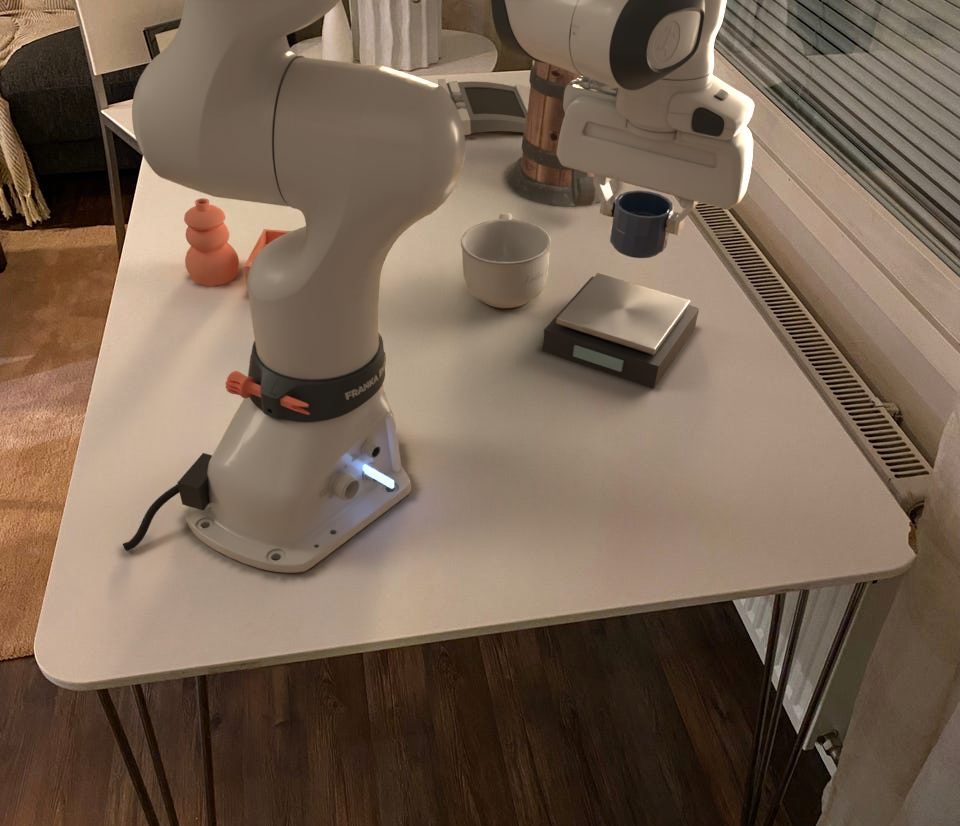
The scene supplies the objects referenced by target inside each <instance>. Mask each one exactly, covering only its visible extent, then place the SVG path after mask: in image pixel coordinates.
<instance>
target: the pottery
mask: <svg viewBox="0 0 960 826" xmlns="http://www.w3.org/2000/svg"><path fill="white" fill-rule="evenodd" d="M194 204H195V205H194V206H192V207H190V208H189V209H188V210H187V211H186V212H185V213H184V217H183V221H184V224H186V225H187V227H186V228H185V238H186V241H187V243H188V244H189V245H190V247H189V248H188V249H187V251H186V254H185V258H184V265H185V269H186V271H187V273H188V276H189V278H190V279H191V281H192V282H193V283H195V284H197V285H200V286H207V287H215V286H222V285H226V284H228V283H230V282H232V281H234V280H235V279H236V278H237V277H238V274H239V265H240V260H239V256H238V253H237V251H236V250H235V248H234V247H233V246H232V244H230V243H229V242H228V241H229V239H230V230H229V228H228V226H227V225H226V223H225V220H226V214H225V212H224V211H223V209H221V208H220V207H218V206H216V205H213V204H210V200H209V199H208V198H205V197H204V198H197V199H195V201H194ZM291 231H292V230H280V229H266V228H263V230H262V232H261V234H260V236H259V238H258V239H257V241H256V243H255V245H254V247H253V249H252V251H251V252H250V254H249V256H248V258H247V260H246V262H245V263H244V266H243V268H244V269H243V270H244V276H245V282H246V284H247V278H248V274H249V270H250V267H251V264H252V262H253V260H254V258H255V257H256V255H257V254H258V253H259V252H260V251H261V249H262V248H264V247H265V246H266V245H267V244H269V243H270V242H272V241H273V240H275V239H276V238H278V237H280V236H282V235H284V234H286V233H288V232H291ZM246 290H247V291H248V288H247V287H246ZM247 297H248V298H249V295H248V294H247Z"/></svg>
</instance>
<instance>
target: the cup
mask: <svg viewBox="0 0 960 826" xmlns="http://www.w3.org/2000/svg"><path fill="white" fill-rule="evenodd" d="M672 212H674V204H673V202H672V201H671V200H670V199H669V198H668V197H666V196H665V195H662V194H660V193H657V192H653V191H649V190H629V191H625V192H622V193H620V194H619V195H617V198H616V199H615V205H614V212H613V217H612V219H611V227H610V233H609V242H610V244H611V245H612V246H613V248H614V249H615V251H617V252H618V253H619V254H621V255H623V256H626V257H630V258H635V259H648V258H649V259H650V258H653V257H656V256H658V255H660V253H662V252H663V251H664V250H665V249H666V248H667V245H668V240H669V234H670V233H667V232H665V228H666V226H667V225H666V222H667V218H668V217H669V216H670V215H671V214H672Z"/></svg>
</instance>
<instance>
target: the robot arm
mask: <svg viewBox="0 0 960 826" xmlns="http://www.w3.org/2000/svg"><path fill="white" fill-rule="evenodd" d="M340 1H341V0H183V9H182V15H181V18H180V19H181V20H180V23H179V26H178V28H177V31H176V33H175V35H174V36H173V38H172V40H171V41H170V42H169V44H168V45H167V46H166V47H165V48H164V49H163V50H162V51H161V52H160V53H159V54H157V55H155V57H154V58H153V59H151V61H150V62H149V63H148V64H147V65H146V67H145V69H144V70H143V72H141V73H142V74H140V77H139V78H138V81H137V84H136V86H135V89H134V93H133V98H132V106H131V120H132V129H133V132H134V138H135V140H136V143H137V146H138V148H139V151H140V153H141V155H142V156H143V159H144V160H145V161H146V163H147V164H148V166H149V167H150V168H151V170H152V171H153V172H154V173H155V175H157V176H158V177H160V178H161V179H164V180H166V181H169V182H171V183H174V184H177V185H180V186H181V187H184V188H186V189H191V190H193V191H196V192H199V193H202V194H205V195H208V196H211V197H215V198H220V199H226V200H227V199H228V200H235V201H242V202H251V203H258V204H266V205H273V206H280V207H281V206H282V207H289V208H291V209H295V210H298V211H300V212H301V214H302V215H303V218H304V220H305V226H302V227H300V228H297V229H294V230H290V231H291V232H288V233H286V234H284V235H282V236H280V237H278V238H276V239H275V240H273V241H272V242H270V243H269V244H267V245H266V246H265V247H264V248H262V249H261V251H260V252H259V253H258V254H257V255H256V257H255V258H254V260H253V262H252V264H251V267H250V270H249V274H248V278H247V283H246V289H247V288H248V290H247V296H248V295H249V297H248V301H249V309H250V315H251V323H252V329H253V336H254V341H253V344H252V347H251V352H250V353H251V354H250V357H249V366H248V372H247V373H248V374H247V376H246V375H245V374H243V373H242V372H240V371H237V370H234V371H231V373H230V374H229V375H228V376H227V378H226V381H225V389H226V392H227V393H229V394H232V395H236V396H240V397H241V398H243V399H242V401H241V402H240V405H239V406H238V408H237V409H236V411H235V413H234V415H233V417H232V419H231V421H230V423H229V425H228V426H227V428H226V429H225V432H224V434H223V435H222V437H221V439H220V441H219V443H218V445H217V446H216V448H215V450H214V452H213V453H212V454H209V453H205V452H202V453H201V455H199V457H198V458H197V459H196V460H195V461H194V463H193V464H192V465H191V466H190V468H188V469H187V470H186V472H185V473H184V474H183V475H182V477H180V479H179V480H178V481H177V484H175V485H174V486H172V487H170V488H169V489H168V490H166V491H165V492H164V493H162V494H161V495H160V496H159V497H158V498H157V499H156V500H154V502H152V504H151V505H150V506H149V508H148V509H147V511H146V512H145V514H144V516H143V518H142V520H141V522H140V525H139V527H138V529H137V531H136V532H135V534H134V535H133V537H132V538H131V539H129V540H128V541H125V542H124V543H123V542H122V546H123V549H124V551H126V552H127V551H131V550H133V549H135V548H136V547H137V546H138V545H139V544H140V543H141V542H142V540H143V539H144V538H145V536H146V534H147V532H148V530H149V528H150V526H151V523H152V521H153V520H154V517H155V515H156V514H157V512H158V511H159V510H160V509H161V508H162V507H163V506H164V505H165V504H166V503H167V502H169V500H171V499H172V498H174V497H176V496H177V495H178V494H179V497H180V500H181V505H183V506H186V507H187V508H186V510H185V521H186V523H187V525H188V527H189V529H190V531H191V532H192V533H193V534H194V535H195V537H197V538H198V539H199V540H200V541H201V542H202V543H204V544H205V545H206V546H208V547H210V548H211V549H213V550H214V551H216V552H218V553H220V554H222V555H224V556H226V557H227V558H230V559H232V560H235V561H237V562H240V563H242V564H244V565H247V566H250V567H254V568H256V569H261V570H264V571H270V572H275V573H288V574H289V573H290V574H291V573H293V574H294V573H304V572H307V571H308V570H309V569H311V568H313V567H314V566H316V565H317V564H318V563H320V562H321V561H322V560H324V559H325V558H326V557H327V556H329V555H330V554H332V553H333V552H334V551H335V550H337V549H338V548H340V547H341V546H342V545H343V544H345V543H346V542H347V541H348V540H350V539H351V538H353V537H354V536H355V535H356V534H358V533H360V532H361V531H363V530H364V529H365V528H366V527H367V526H369V525H370V524H371V523H372V522H374V521H375V520H377V519H378V518H379V517H380V516H382V515H383V514H385V513H386V512H387V511H389V510H390V509H391V508H392V507H393V506H395V505H397V504H398V503H399V502H400V501H402V500H403V499H404V498H406V497H407V496H409V494H410V493H411V492H412V484H411V479H410V477H409V475H408V474H407V472H406V471H405V469H404V468H403V466H402V460H401V453H400V446H399V438H398V431H397V426H396V419H395V415H394V412H393V410H392V408H391V405H390V402H389V399H388V397H387V394H386V391H385V388H384V382H385V379H386V363H387V358H386V357H387V356H386V352H385V348H384V347H385V346H384V340H383V337H382V335H381V333H380V331H379V330H380V329H379V303H380V284H381V283H380V281H381V275H382V270H383V267H384V264H385V261H386V258H387V256H388V254H389V252H390V251H391V249H392V247H393V246H394V244H395V243H396V242H397V241H398V239H399V238H400V237H401V236H402V235H403V234H404V232H406V231H407V230H408V229H409V228H410V227H411V226H413V225H414V224H416V223H417V222H418V221H421V220H422V219H424V218H426V217H427V216H429V215H431V214H433V213H434V212H435V211H437V210H438V209H439V208H440V207H441V206H442V205H443V204H444V203H445V202H446V200H447V199H448V198H449V196H451V194H452V192H453V190H454V189H455V187H456V185H457V183H458V181H459V179H460V176H461V174H462V170H463V167H464V163H465V156H466V138H465V136H466V135H464V129H463V125H462V121H461V118H460V115H459V112H458V110H457V108H456V106H455V104H454V102H453V100H452V99H451V97H450V96H449V94H448V93H447V91H446V90H445V89H444V88H443V87H442V86H441V85H438V83H436V82H433V81H430V80H427V79H424V78H421V77H419V76H416V75H413V74H409V73H407V72H404V71H401V70H397V69H395V68H391V67H389V66H383V65H376V64H367V63H356V62H348V61H339V60H331V59H321V58H313V57H312V58H311V57H305V56H304V55H299V54H296V53H294V52H293V50H292V49H291V47H290V44H289V42H288V38H287V36H288V35H290V34H292V33H295V32H297V31H301V30H302V29H305V28H306V27H308V26H310V25H312V24H314V23H315V22H316V21H318V20H320V19H321V18H323V17H324V16H325V15H327V14H328V13H329V12H331V11H332V9H334V8H335V7H336V6H337V5H338V3H339V2H340ZM727 2H728V0H490V10H491V17H492V22H493V26H494V30H495V32H496V35H497V38H498V39H499V42H500V43H501V45H502V46H503V47H504V48H505V50H506V51H507V52H509V53H510V54H511V55H513V56H514V57H515V56H516V57H518V58H522V59H526V60H530V61H533V62H534V61H537V62H542V63H548V64H551V65H553V66H556V67H559V68H561V69H564V70H567V71H569V72H572V73H575V74H577V75H580V77H579V79H574V80H572V81H570V82H569V83H568V84H567V86H566V88H565V92H564V101H563V108H564V112H565V116H564V120H563V123H562V127H561V131H560V136H559V141H558V147H557V157H558V159H559V161H560V163H561V165H562V166H565V167H568V168H572V169H576V170H579V171H583V172H587V173H591V174H594V181H593V184H594V186H595V189H596V191H597V193H598V196H599V198H600V200H601V201H600V206H599V214H600V215H601V216H602V215H603V216H606V217H611V218H613V212H614V205H615V199H616V198H617V197H618V195H614V194H613V193H612V190H611V187H610V184H609V181H610V180H611V179H613V180H616V181H617V182H621V183H624V184H629V185H633V186H637V187H640V188H642V189H643V188H644V189H647V190H651V191H655V192H659V193H662V194H666V195H671V196H674V197H678V198H680V204H679V207H681V208H683V209H682V210H681V211H680V212H676V211H673V212H672V214H671V215H670V216H669V217H668V218H667V222H666V225H667V226H666V228H665V232H667V233H669V234H672V235H675V236H679V235H680V234H681V233H682V232H683V229H684V226H685V220H686V217H687V216H688V215H689V214H690V213H691V212H692V211H693V210H694V209H695V208H696V207H697V205H698V204H699V203H700V204H704V205H707V206H711V207H715V208H719V209H722V210H732V208H734V207H735V206H737V205H738V204H740V202H741V201H742V199H743V198H744V196H745V195H746V192H747V191H748V186H749V182H750V177H751V171H752V162H753V154H754V153H753V152H754V140H753V135H752V132H751V130H750V129H749V127H748V126H747V125H748V124H749V123H750V120H751V118H752V117H753V113H754V109H755V102H754V101H753V99H751V97H749V96H748V95H746V94H744V93H742V92H741V91H739V90H738V89H736V88H734V87H733V86H731V85H729V84H727V83H726V82H725V81H723V80H721V79H720V78H719V77H717V76H716V75H715V74H713V72H714V67H715V55H714V45H715V40H716V37H717V35H718V32H719V30H720V28H721V26H722V24H723V21H724V18H725V17H724V16H725V12H726V6H727ZM575 83H578V85H576V84H575Z"/></svg>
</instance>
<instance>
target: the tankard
mask: <svg viewBox="0 0 960 826" xmlns="http://www.w3.org/2000/svg"><path fill="white" fill-rule="evenodd" d="M529 71H530V73H529V79H528V80H529V85H530V86H529V88H530V94H529V103H528V112H527V121H526V129H525V132H524V133H523V132H522V139H521V152H522V154H521V156H520V157H519V158H518V159H517V160H516V162H514V164H513V166H512V167H511V168H509V170H508V171H507V172H506V177H505V178H506V183H507V184H508V186H509V188H510V189H511V190H512V191H513V192H514V193H516V194H518V195H520V196H521V197H523V198H526V199H528V200H530V201H534V202H536V203H539V204H545V205H549V206H557V207H558V206H559V207H591V206H592V205H594V204H597V203H601V200H600V198H599V196H598V193H597V191H596V189H595V186H594V184H593V181H594V174H591V173H587V172H583V171H579V170H576V169H572V168H568V167H565V166H562V165H561V163H560V161H559V159H558V157H557V147H558V141H559V136H560V131H561V127H562V123H563V120H564V116H565V112H564V108H563V101H564V92H565V88H566V86H567V84H568V83H569V82H570V81H572V80H574V79H579V77H580V75H577V74H575V73H572V72H569V71H567V70H564V69H561V68H559V67H556V66H553V65H551V64H548V63H542V62H537V61H533V64H532V65H531V67H530V70H529ZM575 84H576V85H578V83H575ZM609 184H610V187H611V190H612V193H613V195H614V194H615V193H616V191H617V189H618V181H617V180H613V179H611V180H610V181H609Z"/></svg>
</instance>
